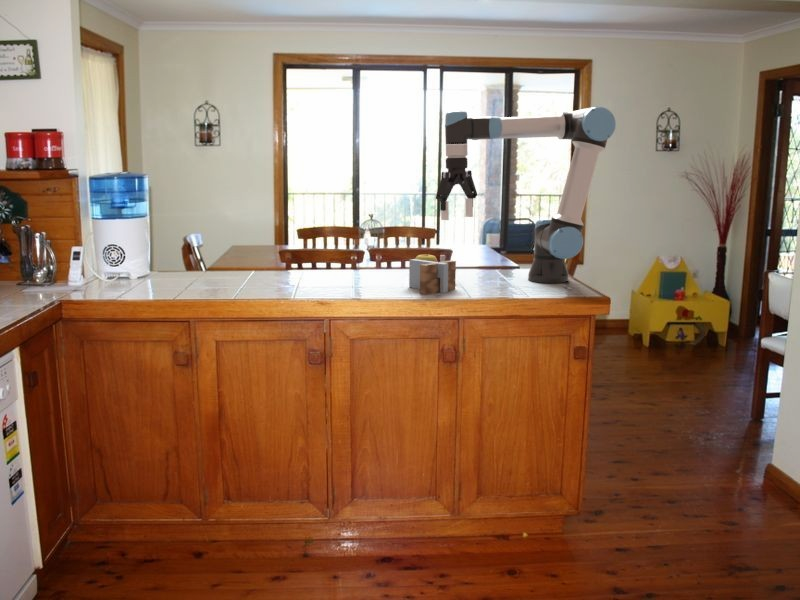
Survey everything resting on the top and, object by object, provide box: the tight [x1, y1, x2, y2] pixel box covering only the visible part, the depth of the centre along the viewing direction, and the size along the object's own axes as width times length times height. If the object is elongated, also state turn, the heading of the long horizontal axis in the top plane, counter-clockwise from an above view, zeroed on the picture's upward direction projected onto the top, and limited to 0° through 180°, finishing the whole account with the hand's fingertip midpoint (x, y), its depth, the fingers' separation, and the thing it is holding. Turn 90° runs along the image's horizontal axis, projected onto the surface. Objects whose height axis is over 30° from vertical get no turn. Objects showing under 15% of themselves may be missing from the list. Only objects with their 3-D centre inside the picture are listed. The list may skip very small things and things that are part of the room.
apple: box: [414, 253, 439, 262], centre depth 303 cm, size 10×10×8 cm
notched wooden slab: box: [419, 259, 457, 296], centre depth 263 cm, size 16×2×10 cm, turn 136°
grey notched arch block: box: [408, 258, 449, 294], centre depth 266 cm, size 16×2×10 cm, turn 47°
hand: (457, 218), depth 267 cm, fingers open, 13 cm apart
